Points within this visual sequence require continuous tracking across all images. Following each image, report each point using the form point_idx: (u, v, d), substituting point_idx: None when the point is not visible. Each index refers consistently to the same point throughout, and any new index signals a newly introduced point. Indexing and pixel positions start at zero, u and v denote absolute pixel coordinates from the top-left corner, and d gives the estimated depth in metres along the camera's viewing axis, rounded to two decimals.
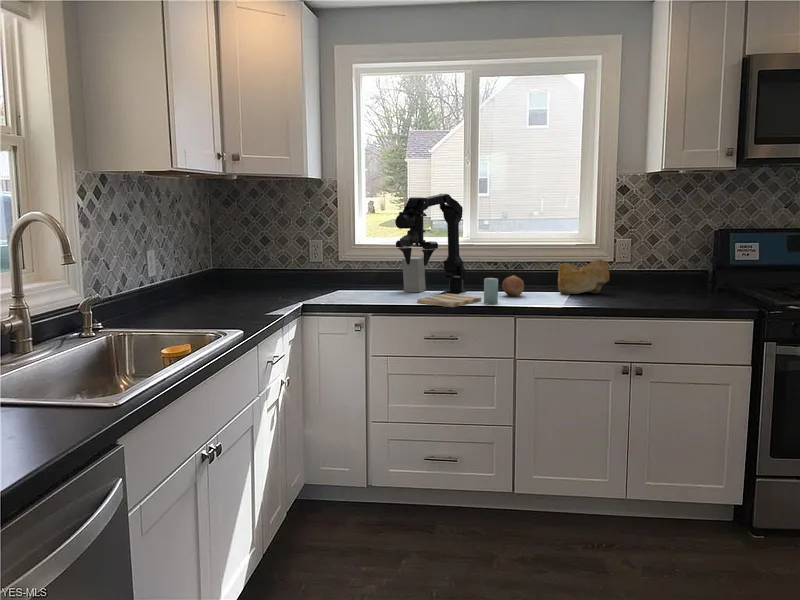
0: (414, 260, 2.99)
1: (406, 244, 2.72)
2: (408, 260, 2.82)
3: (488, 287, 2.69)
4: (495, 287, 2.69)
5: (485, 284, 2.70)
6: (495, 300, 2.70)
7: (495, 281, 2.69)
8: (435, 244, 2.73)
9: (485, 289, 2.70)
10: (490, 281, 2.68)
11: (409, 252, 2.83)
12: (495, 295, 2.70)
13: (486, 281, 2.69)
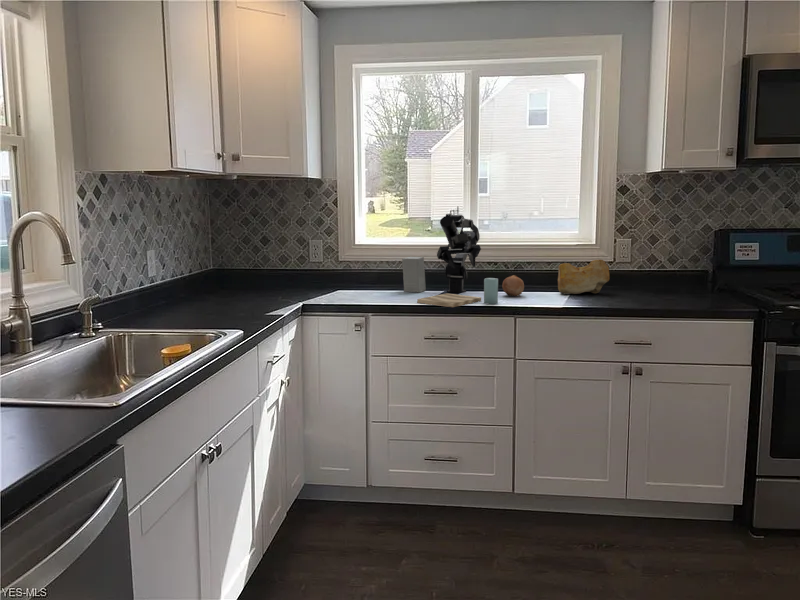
0: (414, 260, 2.99)
1: (466, 238, 2.82)
2: None
3: (488, 287, 2.69)
4: (495, 287, 2.69)
5: (485, 284, 2.70)
6: (495, 300, 2.70)
7: (495, 281, 2.69)
8: None
9: (485, 289, 2.70)
10: (490, 281, 2.68)
11: None
12: (495, 295, 2.70)
13: (486, 281, 2.69)
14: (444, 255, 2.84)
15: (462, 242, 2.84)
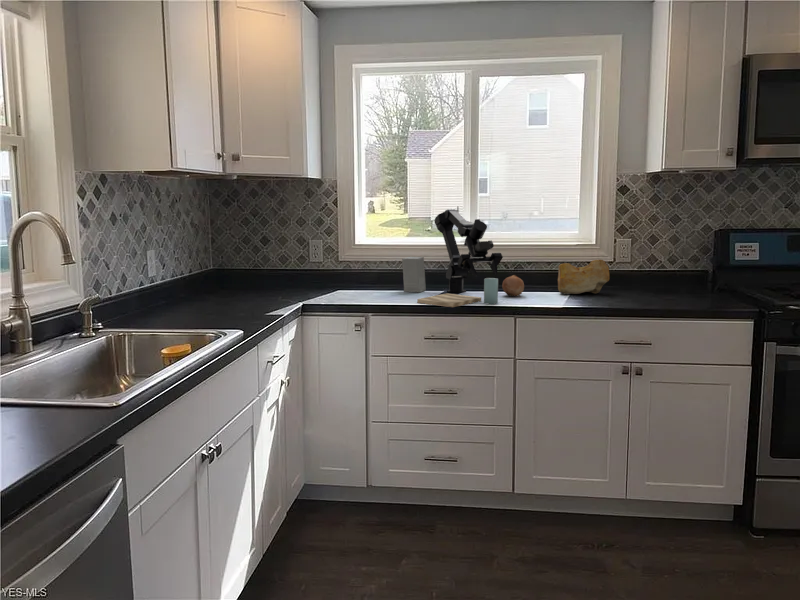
0: (414, 260, 2.99)
1: (488, 246, 2.74)
2: None
3: (488, 287, 2.69)
4: (495, 287, 2.69)
5: (485, 284, 2.70)
6: (495, 300, 2.70)
7: (495, 281, 2.69)
8: None
9: (485, 289, 2.70)
10: (490, 281, 2.68)
11: None
12: (495, 295, 2.70)
13: (486, 281, 2.69)
14: (465, 263, 2.75)
15: (484, 250, 2.76)
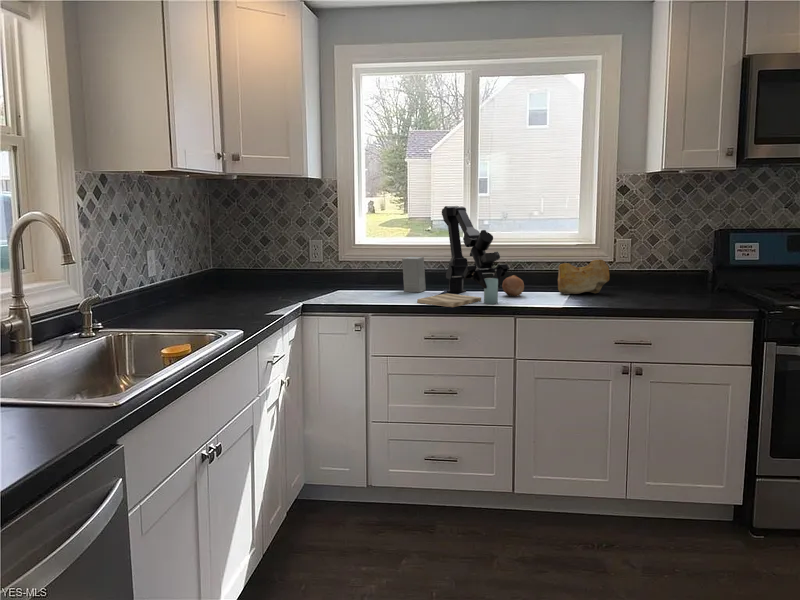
0: (414, 260, 2.99)
1: (494, 257, 2.69)
2: None
3: (488, 287, 2.69)
4: (495, 287, 2.69)
5: None
6: (495, 300, 2.70)
7: (495, 281, 2.69)
8: None
9: (485, 289, 2.70)
10: (490, 281, 2.68)
11: None
12: (495, 295, 2.70)
13: (486, 281, 2.69)
14: (475, 275, 2.71)
15: (490, 261, 2.72)
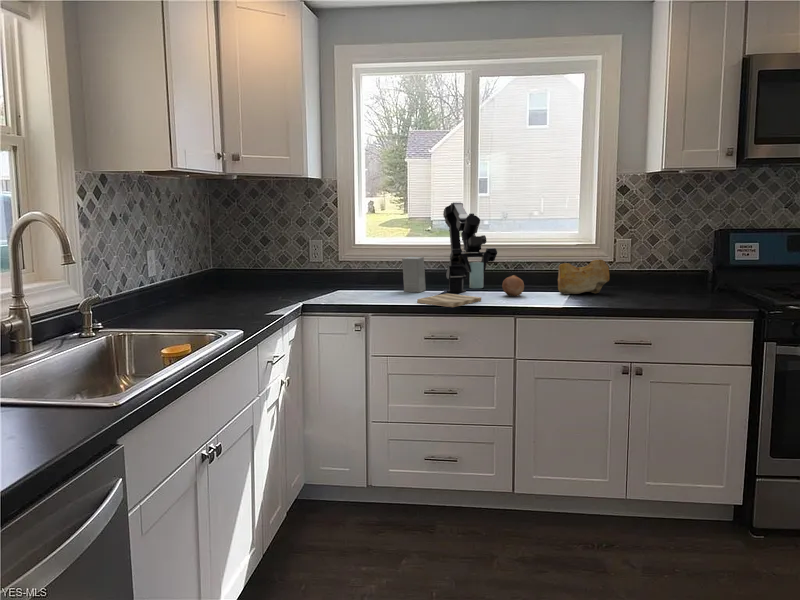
0: (414, 260, 2.99)
1: (479, 241, 2.67)
2: None
3: (472, 271, 2.67)
4: (479, 271, 2.66)
5: None
6: (480, 284, 2.67)
7: (479, 265, 2.66)
8: None
9: (470, 273, 2.68)
10: (474, 265, 2.66)
11: None
12: (480, 279, 2.67)
13: (471, 265, 2.67)
14: (460, 258, 2.70)
15: (476, 245, 2.69)
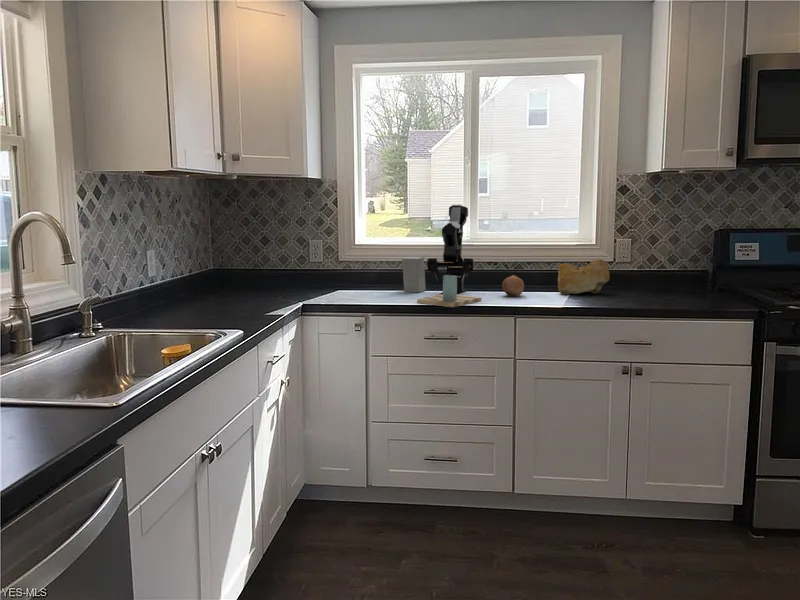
0: (414, 260, 2.99)
1: (452, 251, 2.67)
2: (438, 277, 2.69)
3: (444, 284, 2.68)
4: (451, 284, 2.67)
5: (443, 281, 2.69)
6: (451, 297, 2.68)
7: (451, 278, 2.66)
8: None
9: (443, 286, 2.69)
10: (445, 278, 2.67)
11: None
12: (451, 292, 2.67)
13: (443, 278, 2.68)
14: (431, 267, 2.72)
15: (451, 255, 2.69)
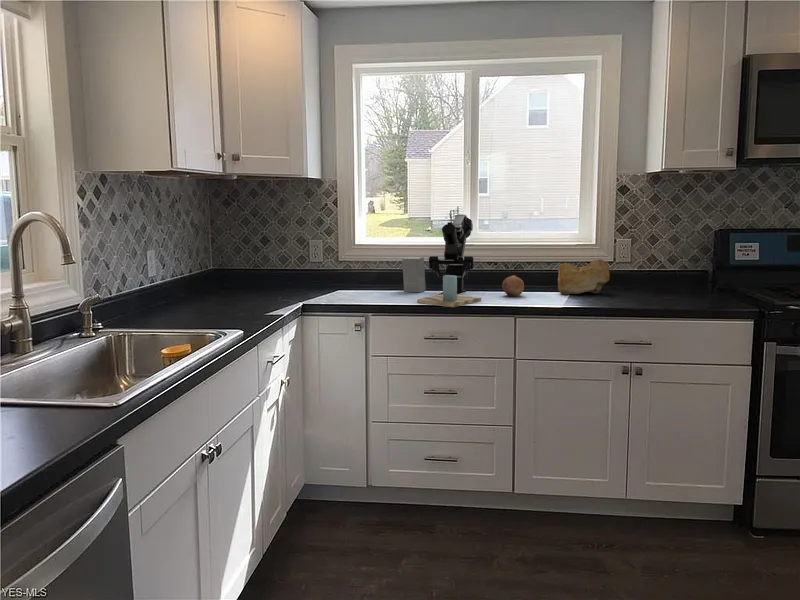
0: (414, 260, 2.99)
1: (453, 249, 2.76)
2: None
3: (444, 284, 2.68)
4: (451, 284, 2.67)
5: (443, 281, 2.69)
6: (451, 297, 2.68)
7: (451, 278, 2.66)
8: None
9: (443, 286, 2.69)
10: (445, 278, 2.67)
11: None
12: (451, 292, 2.67)
13: (443, 278, 2.68)
14: (433, 265, 2.81)
15: (452, 253, 2.78)
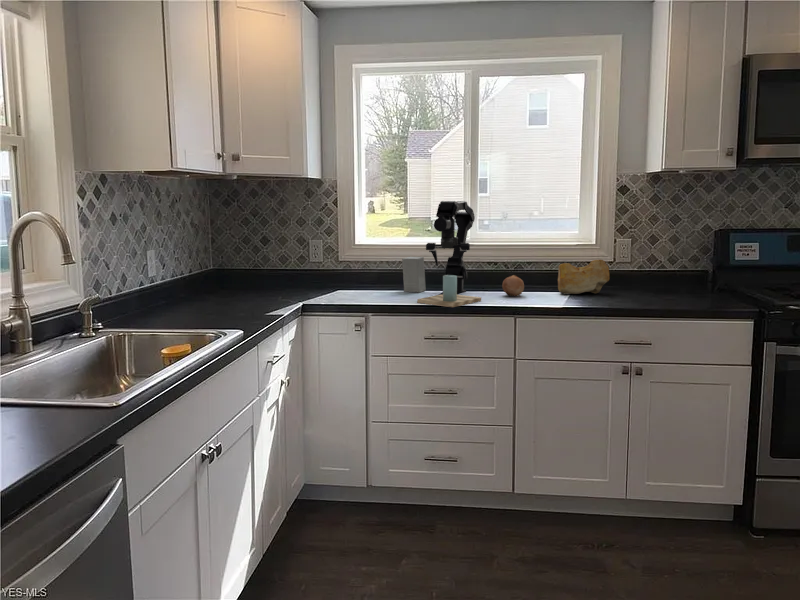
0: (414, 260, 2.99)
1: (449, 246, 2.80)
2: (437, 262, 2.90)
3: (444, 284, 2.68)
4: (451, 284, 2.67)
5: (443, 281, 2.69)
6: (451, 297, 2.68)
7: (451, 278, 2.66)
8: None
9: (443, 286, 2.69)
10: (445, 278, 2.67)
11: (436, 254, 2.90)
12: (451, 292, 2.67)
13: (443, 278, 2.68)
14: None
15: None
